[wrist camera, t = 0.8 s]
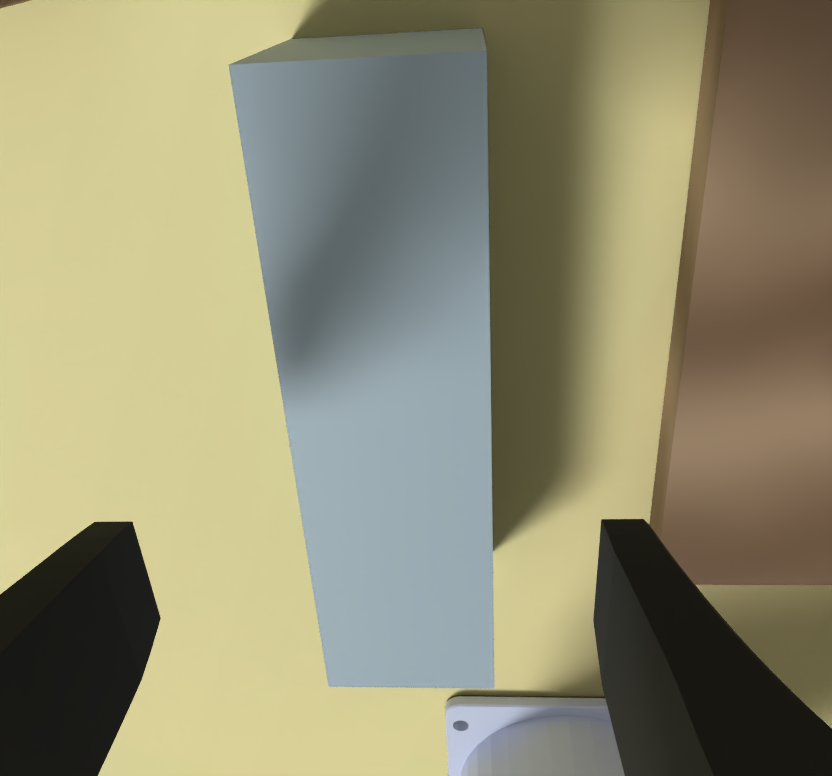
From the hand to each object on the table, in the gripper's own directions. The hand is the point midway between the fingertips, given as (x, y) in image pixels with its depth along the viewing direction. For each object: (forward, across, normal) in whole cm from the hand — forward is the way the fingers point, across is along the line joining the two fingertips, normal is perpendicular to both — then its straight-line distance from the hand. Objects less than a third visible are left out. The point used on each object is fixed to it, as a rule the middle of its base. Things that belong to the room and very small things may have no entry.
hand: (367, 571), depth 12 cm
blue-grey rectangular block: (+9, 0, 0) cm, 9 cm away
